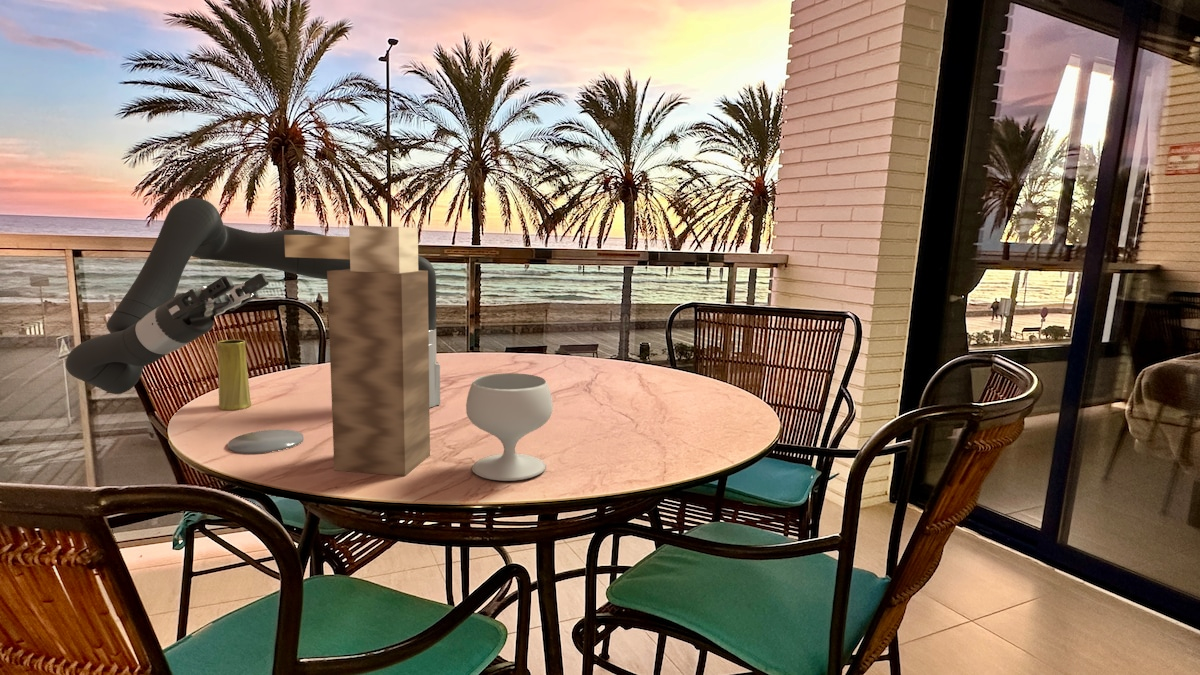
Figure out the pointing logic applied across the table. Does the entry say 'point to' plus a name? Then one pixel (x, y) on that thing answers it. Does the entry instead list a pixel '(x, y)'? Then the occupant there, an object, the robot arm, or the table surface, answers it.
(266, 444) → the grey flat disc
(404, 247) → the mallet
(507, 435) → the chalice
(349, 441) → the herringbone wood pillar
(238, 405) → the vase
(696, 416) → the table surface
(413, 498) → the table surface
